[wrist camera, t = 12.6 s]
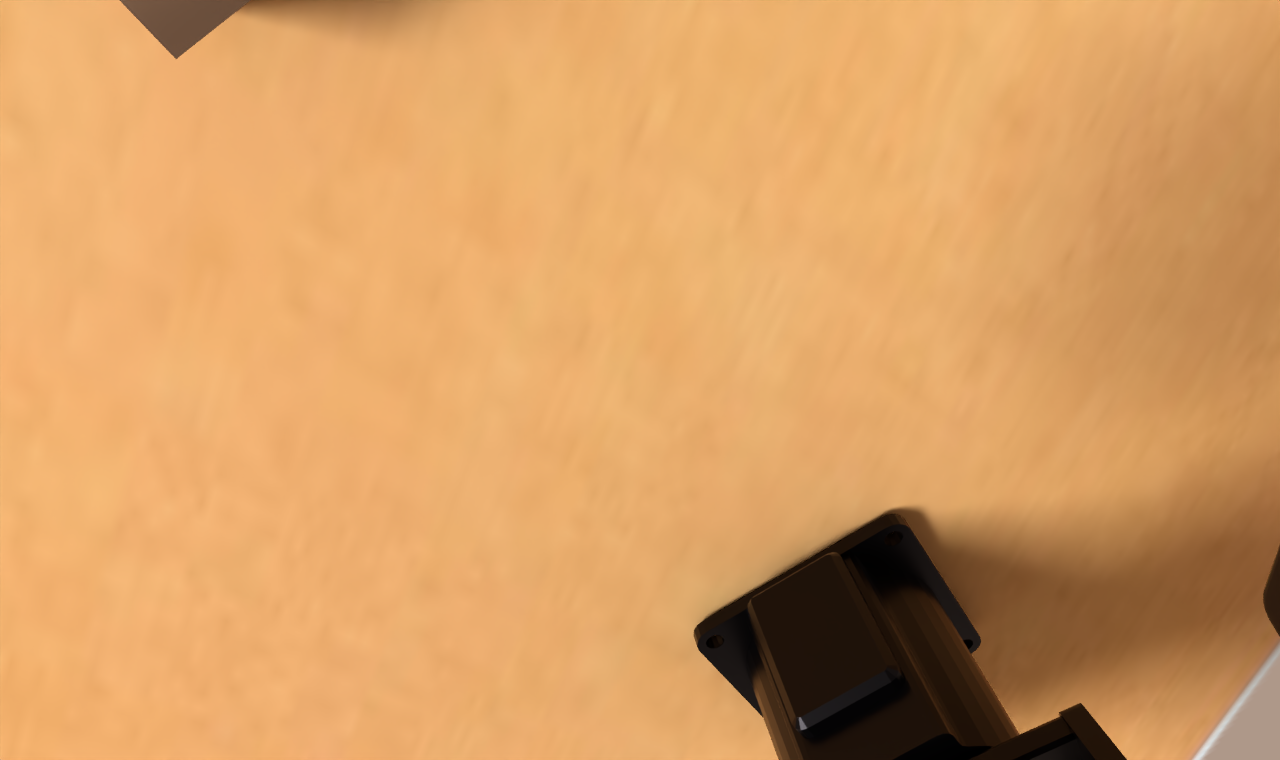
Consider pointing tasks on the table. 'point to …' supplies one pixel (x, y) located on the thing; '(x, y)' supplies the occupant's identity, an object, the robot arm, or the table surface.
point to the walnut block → (182, 19)
